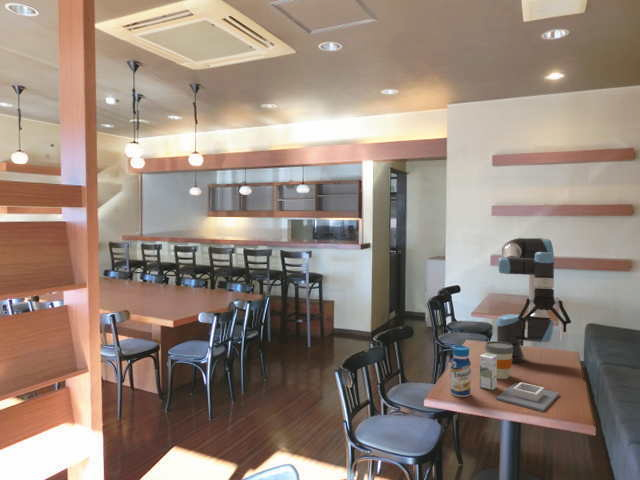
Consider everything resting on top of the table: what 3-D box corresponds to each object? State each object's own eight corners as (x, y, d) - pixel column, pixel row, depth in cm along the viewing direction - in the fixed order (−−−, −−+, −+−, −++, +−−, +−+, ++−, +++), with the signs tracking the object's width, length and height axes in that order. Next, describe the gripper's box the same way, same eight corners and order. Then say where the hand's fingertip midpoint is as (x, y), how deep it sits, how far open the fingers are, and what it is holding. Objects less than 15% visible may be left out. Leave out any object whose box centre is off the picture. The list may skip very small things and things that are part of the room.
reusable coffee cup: (479, 375, 215) (480, 344, 214) (493, 369, 223) (493, 339, 222) (504, 382, 205) (505, 350, 204) (517, 376, 213) (518, 345, 212)
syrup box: (496, 387, 199) (497, 354, 199) (491, 390, 195) (492, 358, 194) (484, 383, 203) (484, 352, 203) (479, 387, 199) (479, 355, 198)
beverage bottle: (466, 389, 196) (467, 344, 195) (473, 397, 188) (474, 350, 187) (447, 389, 196) (448, 344, 195) (453, 397, 188) (453, 350, 187)
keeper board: (515, 384, 202) (515, 376, 202) (559, 395, 190) (559, 385, 190) (496, 399, 186) (496, 390, 185) (543, 411, 174) (543, 401, 173)
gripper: (513, 286, 192) (512, 336, 190) (578, 289, 184) (579, 342, 182) (511, 286, 199) (511, 335, 197) (575, 289, 191) (575, 340, 189)
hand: (543, 338), depth 190 cm, fingers open, 13 cm apart
